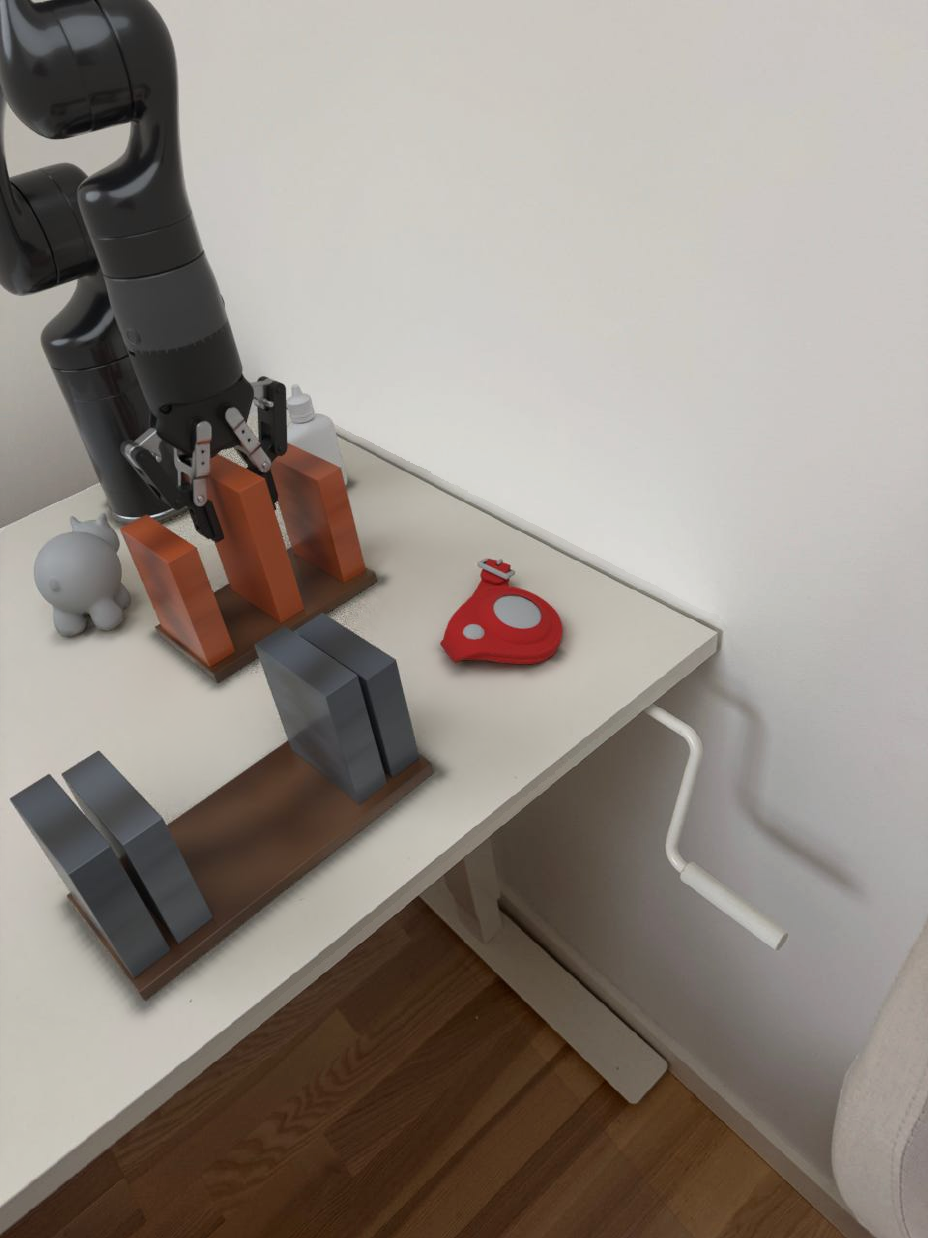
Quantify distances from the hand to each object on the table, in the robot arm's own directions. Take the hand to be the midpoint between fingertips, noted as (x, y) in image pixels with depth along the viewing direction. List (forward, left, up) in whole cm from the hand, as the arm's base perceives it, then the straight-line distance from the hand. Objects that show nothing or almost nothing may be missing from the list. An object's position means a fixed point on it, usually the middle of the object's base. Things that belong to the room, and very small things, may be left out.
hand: (240, 522), depth 79 cm
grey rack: (+21, -15, -9) cm, 27 cm away
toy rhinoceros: (-14, -9, -9) cm, 19 cm away
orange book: (0, 0, -8) cm, 8 cm away
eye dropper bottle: (-12, +15, -9) cm, 21 cm away
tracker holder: (+19, +11, -9) cm, 24 cm away
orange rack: (0, 0, -9) cm, 9 cm away
